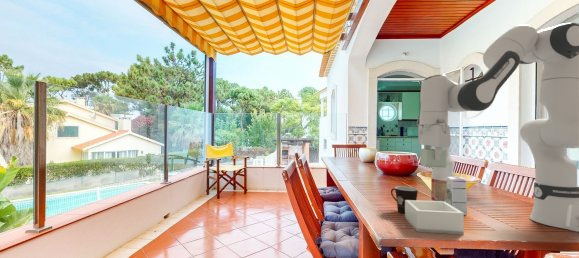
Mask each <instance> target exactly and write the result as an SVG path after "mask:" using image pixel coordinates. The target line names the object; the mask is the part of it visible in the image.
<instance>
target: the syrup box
mask: <svg viewBox="0 0 579 258" xmlns="http://www.w3.org/2000/svg"><path fill="white" fill-rule="evenodd" d="M467 187H468V184H467V179H465V178H463V177H460V176H455V177H447V203H448V204H450V205H451V206H453V207H455V208H456V209H458V210H459V211H461V212H463V213H464V216H467V215H468V202H467V201H468V199H467V197H468V196H467V193H468V192H467V191H468V190H467Z"/></svg>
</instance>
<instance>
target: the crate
mask: <svg viewBox="0 0 579 258" xmlns="http://www.w3.org/2000/svg"><path fill="white" fill-rule="evenodd" d="M464 217H465V215H464V213H463V212H461V211H459V210H458V209H456V208H455V207H453V206H451V205H450V204H448V203H446V202H442V201H431V200H419V199H417V200H405V215H404V219H405V220H406V221H407V222H408V223H409V225H411V227H412V228H413V229H414V230H415V231H416V232H417V233H431V234H433V233H434V234H447V235H448V234H449V235H465V234H464V233H465V231H464V228H465V225H464V221H465V219H464Z"/></svg>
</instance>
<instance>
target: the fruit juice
mask: <svg viewBox="0 0 579 258" xmlns="http://www.w3.org/2000/svg"><path fill="white" fill-rule="evenodd" d="M449 148H450V147H448V148H446V147H443V150H446V168H440V167H432V171H431V175H430V177H431V181H430V183H431V186H430V188H431V194H430V196H431V197H430V198H431V199H430V201H442V202H446V203H447V177H456V175H455V171H454V169H455V166H456V163H455V160H454V159H453V157H452V156H451V153H450V149H449Z"/></svg>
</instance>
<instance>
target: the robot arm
mask: <svg viewBox="0 0 579 258" xmlns="http://www.w3.org/2000/svg"><path fill="white" fill-rule="evenodd" d="M482 61H483V64H484V66H485V67H486V68H487V69H488V70H487V71H486V72H485V73H484V74H483V75H482V76H481V77H478V78H477V79H474V80H471V81H469V82H465V83H461V84H459V83H457V82H454V81H453V80H451V79H449V78H448V76H447V75H446V74H443V73H442V74H435V75H431V76H428V77H425V78H424V79H423V80H422V83H421V87H420V98H419V99H420V101H419V102H420V105H421V107H420V110H419V118H418V119H417V120H416V125H417V126H418V128H417V136H418V139H417V140H418V143H419V145H421V146H424V148H423V149H433V148H434V149H435V155H434V160H441V154H442V151H443V147H446V148H448V147H449V148H450V147H451V141H452V140H451V128H450V126H449V121H448V120H449V112H451V113H460V112H481V111H485V110H487V109H488V108H489V107H491V106H492V104H493V103H494V101H495V99H496V96H497V94H498V92H499V90H501V88H502V86H503V85H504V84H505V83H506V82H507V81H508V79H509V78H510V77H511V76H512V75H513V74H514V72H515V71H516V70H517V68H518V67H519V65H520V64H521V65H529V64H533V63H540V62H542V65H543V70H542V73H541V74H542V75H541V81H540V87H539V99H538V101H539V103H540V105H541V106H544V107H545V108H546V111H547V114H548V118H537V119H533V120H530V121H526V122H525V123H524V124H522V126H521V128H520V131H519V133H520V134H519V135H520V137H521V139H522V140H523V142H525V143H526V144H527V145H528V147H529V150H530V152H531V154H532V157H533V160H534V167H535V168H534V169H535V171H534V173H535V177H534V178H535V181H534V182H533V194H534V195H533V196H534V200H533V207H532V210H531V213H530V216H529V219H530V220H531V221H534V222H536V223H539V224H542V225H546V226H549V227H554V228H560V229H564V230H569V231H571V232H572V231H573V232H577V233H578V232H579V185H578V165H577V164H576V163H575V161H573V160H572V159H571V158H570V156H568V154H567V152H566V149H579V23H577V22H566V23H559V24H558V25H555V26H552V27H547V28H545V29H541V30H539V31H538V30H537V29H536V28H535V27H534V26H533V25H532V26H531V24H518V25H515V26H513V27H512V28H511V29H509V30H507V31H506V32H504V33H503V34H502V35H500V36H499V37H498V38H497V39H496V40H494V41H493V42H492V43H491V44H490V45H489V46H488V48H487V49H486V50H485V51H484V53H483V55H482Z"/></svg>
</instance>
